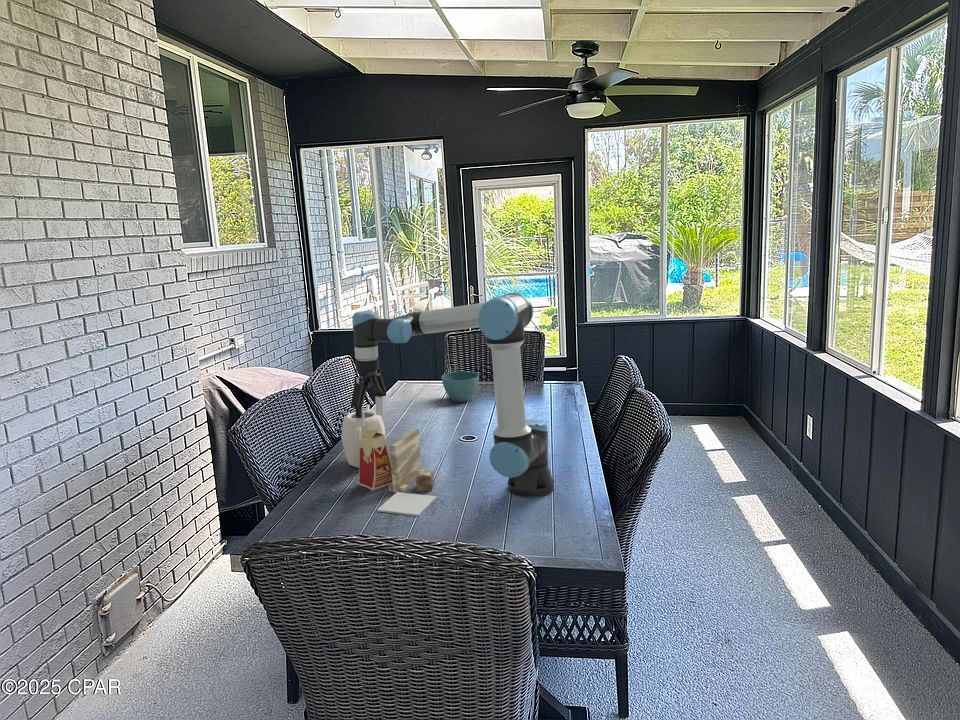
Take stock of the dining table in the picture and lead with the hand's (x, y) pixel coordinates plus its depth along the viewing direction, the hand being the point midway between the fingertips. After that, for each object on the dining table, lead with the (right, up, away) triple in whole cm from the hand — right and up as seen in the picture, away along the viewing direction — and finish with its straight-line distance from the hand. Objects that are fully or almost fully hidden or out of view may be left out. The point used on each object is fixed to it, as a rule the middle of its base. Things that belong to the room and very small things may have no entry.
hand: (370, 420), depth 224 cm
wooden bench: (+12, -21, +5) cm, 25 cm away
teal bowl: (+27, +1, +107) cm, 111 cm away
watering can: (-6, -18, +26) cm, 32 cm away
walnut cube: (+18, -22, -1) cm, 29 cm away
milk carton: (+1, -22, +5) cm, 23 cm away
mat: (+14, -25, -13) cm, 32 cm away
